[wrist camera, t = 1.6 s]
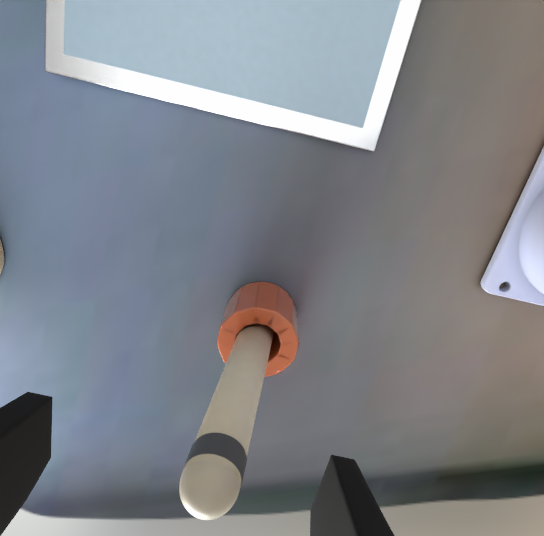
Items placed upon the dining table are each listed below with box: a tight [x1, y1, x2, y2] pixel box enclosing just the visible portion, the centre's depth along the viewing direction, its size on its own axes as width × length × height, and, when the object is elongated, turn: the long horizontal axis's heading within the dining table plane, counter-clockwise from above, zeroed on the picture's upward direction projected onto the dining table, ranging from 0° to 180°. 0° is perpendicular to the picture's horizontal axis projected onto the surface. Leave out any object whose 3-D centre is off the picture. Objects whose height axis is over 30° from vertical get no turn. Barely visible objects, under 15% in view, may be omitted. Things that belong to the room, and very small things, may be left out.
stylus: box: [179, 323, 274, 520], centre depth 14 cm, size 2×2×11 cm
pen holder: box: [217, 282, 299, 377], centre depth 18 cm, size 4×4×3 cm
